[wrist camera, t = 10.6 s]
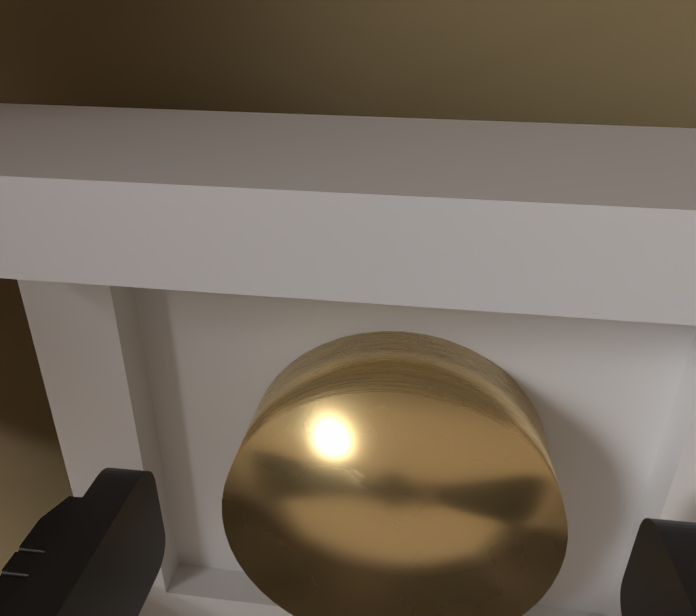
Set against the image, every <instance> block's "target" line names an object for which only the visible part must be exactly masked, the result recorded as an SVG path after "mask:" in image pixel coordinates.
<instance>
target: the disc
mask: <svg viewBox="0 0 696 616" xmlns="http://www.w3.org/2000/svg"><path fill="white" fill-rule="evenodd" d="M222 519H223V525H224V530H225V534H226V537H227V540H228V543H229V546H230V548H231V550H232V552H233V554H234V556H235V558H236V560H237V562H238V564H239V565H240V566H241V568H242V569H243V571H244V572H245V573H246V575H247V576H248V578H249V579H250V580H251V581H252V582H253V583H254V584H255V585H256V586H257V587H258V589H259V590H260V591H261V592H263V593H264V594H265V595H266V596H267V597H268V598H269V599H271V600H272V601H273V602H274V603H275V604H277V605H278V606H280V607H281V608H282V609H284V610H285V611H287V612H288V613H290V614H291V615H293V616H522V615H524V614H525V613H526V612H528V611H529V610H530V609H531V608H532V607H533V606H534V605H535V604H536V603H538V602H539V601H540V600H541V598H542V597H543V596H544V595H545V594H546V592H547V591H548V590H549V589H550V587H551V586H552V584H553V582H554V581H555V579H556V577H557V575H558V574H559V572H560V569H561V566H562V564H563V561H564V558H565V554H566V548H567V542H568V522H567V517H566V512H565V508H564V503H563V499H562V496H561V492H560V488H559V485H558V481H557V477H556V473H555V470H554V466H553V462H552V458H551V455H550V451H549V447H548V444H547V440H546V436H545V432H544V429H543V426H542V423H541V421H540V418H539V416H538V413H537V411H536V409H535V408H534V406H533V404H532V402H531V401H530V399H529V397H528V396H527V395H526V393H525V392H524V391H523V390H522V389H521V387H520V386H519V385H518V384H517V382H516V381H514V380H513V379H512V378H511V377H510V376H509V375H508V374H507V373H506V372H505V371H504V370H503V369H501V368H500V367H499V366H497V365H496V364H494V363H493V362H491V361H490V360H489V359H487V358H486V357H484V356H482V355H480V354H478V353H476V352H474V351H473V350H471V349H469V348H467V347H464V346H462V345H459V344H457V343H454V342H451V341H449V340H446V339H442V338H438V337H434V336H430V335H426V334H419V333H412V332H404V331H378V332H367V333H359V334H355V335H350V336H346V337H341V338H338V339H335V340H333V341H330V342H327V343H324V344H322V345H320V346H318V347H316V348H314V349H312V350H310V351H308V352H306V353H304V354H303V355H301V356H300V357H298V358H297V359H296V360H294V361H293V362H291V363H290V364H289V365H288V366H287V367H286V368H285V369H283V370H282V371H281V372H280V373H279V374H278V375H277V376H276V378H275V379H274V380H273V381H272V383H271V384H270V385H269V386H268V388H267V390H266V391H265V393H264V395H263V397H262V399H261V400H260V402H259V405H258V407H257V409H256V411H255V414H254V416H253V418H252V420H251V423H250V425H249V427H248V429H247V432H246V434H245V436H244V438H243V441H242V443H241V445H240V447H239V450H238V452H237V454H236V456H235V459H234V461H233V463H232V466H231V468H230V470H229V473H228V476H227V479H226V482H225V484H224V490H223V496H222Z"/></svg>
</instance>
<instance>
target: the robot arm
mask: <svg viewBox="0 0 696 616" xmlns="http://www.w3.org/2000/svg"><path fill="white" fill-rule="evenodd" d="M165 541H166V538H165V529H164V524H163V519H162V513H161V508H160V503H159V497H158V492H157V486H156V481H155V477H154V475H153V473H152V472H150V471H142V470H131V469H120V468H109V467H108V468H105V469H103V470H102V471H101V472H100V473H99V474H98V476H97V477H96V478H95V480H94V481H93V483H92V484H91V486H90V487H89V489H88V490H87V491H86V493H85V494H84V496H83V497H73V496H69V497H68V498H67V499H65V500H64V501H63V502H61V503H60V504H59V505H57V506H56V507H55V508H54V509H52V510H51V511H50V512H48V513H47V514H46V515H44V516H43V517H42V518H40V520H39V521H38V522H37V524H36V525H35V526H34V528H33V529H32V530H31V532H30V533H29V534H28V536H27V537H26V538H25V540H24V541H23V542H22V544H21V545H20V546H19V547H20V549H19V551H18V552H15V553H14V554H13V556H12V557H11V559H10V560H9V561H8V563H7V564H6V565H5V567H4V568H3V569H2V574H1V576H0V616H139V613H140V611H141V609H142V607H143V605H144V603H145V601H146V599H147V596H148V594H149V592H150V590H151V588H152V586H153V584H154V581H155V579H156V577H157V575H158V573H159V570H160V568H161V565H162V561H163V557H164V552H165ZM620 606H621V614H622V616H696V522H685V521H674V520H663V519H652V518H645V519H644V520H643V521H642V522H641V524H640V526H639V529H638V532H637V536H636V539H635V542H634V545H633V548H632V551H631V554H630V557H629V560H628V564H627V567H626V570H625V573H624V576H623V579H622V583H621V589H620Z"/></svg>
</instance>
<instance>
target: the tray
mask: <svg viewBox="0 0 696 616" xmlns="http://www.w3.org/2000/svg"><path fill="white" fill-rule="evenodd" d="M0 278H4V279H17V281H18V285H19V289H20V292H21V296H22V300H23V304H24V308H25V312H26V316H27V319H28V323H29V327H30V331H31V335H32V339H33V343H34V347H35V350H36V354H37V358H38V362H39V366H40V370H41V374H42V377H43V381H44V385H45V389H46V393H47V397H48V401H49V404H50V408H51V412H52V416H53V420H54V424H55V428H56V431H57V435H58V439H59V443H60V447H61V451H62V455H63V458H64V462H65V466H66V470H67V474H68V478H69V482H70V486H71V489H72V493H73V497H83V496H84V494H85V493H86V491H87V490H88V489H89V487H90V486H91V484H92V483H93V481H94V480H95V478H96V477H97V476H98V474H99V473H100V472H101V471H102V470H103V469H105V468H108V467H109V468H120V469H131V470H142V471H150V472H152V473H153V475H154V477H155V481H156V486H157V492H158V497H159V503H160V508H161V513H162V519H163V524H164V529H165V538H166V541H165V552H164V557H163V561H162V565H161V568H160V570H159V573H158V575H157V577H156V579H155V581H154V584H153V586H152V588H151V590H150V592H149V594H148V596H147V599H146V601H145V603H144V605H143V607H142V609H141V611H140V613H139V616H293V615H291V614H290V613H288V612H287V611H285V610H284V609H282V608H281V607H280V606H278V605H277V604H275V603H274V602H273V601H272V600H271V599H269V598H268V597H267V596H266V595H265V594H264V593H263V592H261V591H260V590H259V589H258V587H257V586H256V585H255V584H254V583H253V582H252V581H251V580H250V579H249V578H248V576H247V575H246V573H245V572H244V571H243V569H242V568H241V566H240V565H239V564H238V562H237V560H236V558H235V556H234V554H233V552H232V550H231V548H230V546H229V543H228V540H227V537H226V534H225V530H224V525H223V519H222V496H223V490H224V484H225V482H226V479H227V476H228V473H229V470H230V468H231V466H232V463H233V461H234V459H235V456H236V454H237V452H238V450H239V447H240V445H241V443H242V441H243V438H244V436H245V434H246V432H247V429H248V427H249V425H250V423H251V420H252V418H253V416H254V414H255V411H256V409H257V407H258V405H259V402H260V400H261V399H262V397H263V395H264V393H265V391H266V390H267V388H268V386H269V385H270V384H271V383H272V381H273V380H274V379H275V378H276V376H277V375H278V374H279V373H280V372H281V371H282V370H283V369H285V368H286V367H287V366H288V365H289V364H290V363H291V362H293V361H294V360H296V359H297V358H298V357H300V356H301V355H303V354H304V353H306V352H308V351H310V350H312V349H314V348H316V347H318V346H320V345H322V344H324V343H327V342H330V341H333V340H335V339H338V338H341V337H346V336H350V335H355V334H359V333H367V332H378V331H404V332H412V333H419V334H426V335H430V336H434V337H438V338H442V339H446V340H449V341H451V342H454V343H457V344H459V345H462V346H464V347H467V348H469V349H471V350H473V351H474V352H476V353H478V354H480V355H482V356H484V357H486V358H487V359H489V360H490V361H491V362H493V363H494V364H496V365H497V366H499V367H500V368H501V369H503V370H504V371H505V372H506V373H507V374H508V375H509V376H510V377H511V378H512V379H513V380H514V381H516V382H517V384H518V385H519V386H520V387H521V389H522V390H523V391H524V392H525V393H526V395H527V396H528V397H529V399H530V401H531V402H532V404H533V406H534V408H535V409H536V411H537V413H538V416H539V418H540V421H541V423H542V426H543V429H544V432H545V436H546V440H547V444H548V447H549V451H550V455H551V458H552V462H553V466H554V470H555V473H556V477H557V481H558V485H559V488H560V492H561V496H562V499H563V503H564V508H565V512H566V517H567V522H568V542H567V548H566V554H565V558H564V561H563V564H562V566H561V569H560V572H559V574H558V575H557V577H556V579H555V581H554V582H553V584H552V586H551V587H550V589H549V590H548V591H547V592H546V594H545V595H544V596H543V597H542V598H541V600H540V601H539V602H538V603H536V604H535V605H534V606H533V607H532V608H531V609H530V610H529V611H528V612H526V613H525V614H524V615H522V616H622V614H621V606H620V589H621V583H622V579H623V576H624V573H625V570H626V567H627V564H628V560H629V557H630V554H631V551H632V548H633V545H634V542H635V539H636V536H637V532H638V529H639V526H640V524H641V522H642V521H643V520H644V519H645V518H652V519H663V520H674V521H685V522H696V128H673V127H645V126H617V125H590V124H562V123H534V122H506V121H478V120H451V119H423V118H395V117H367V116H339V115H312V114H284V113H256V112H228V111H200V110H173V109H145V108H117V107H89V106H61V105H34V104H6V103H0Z"/></svg>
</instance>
